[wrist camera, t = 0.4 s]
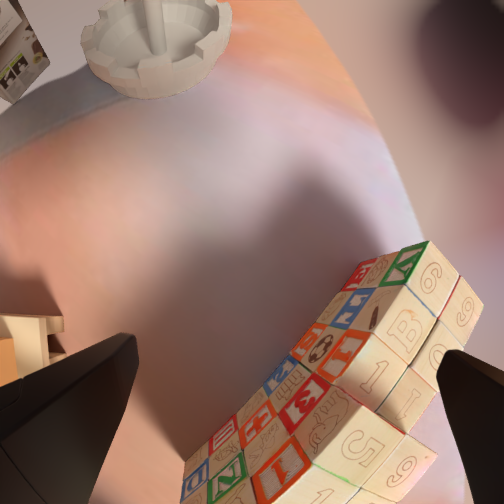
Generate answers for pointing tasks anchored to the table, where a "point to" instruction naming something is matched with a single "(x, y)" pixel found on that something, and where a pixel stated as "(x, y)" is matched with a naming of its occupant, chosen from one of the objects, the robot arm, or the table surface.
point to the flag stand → (156, 44)
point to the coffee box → (18, 52)
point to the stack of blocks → (345, 394)
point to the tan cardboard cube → (7, 361)
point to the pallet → (31, 340)
